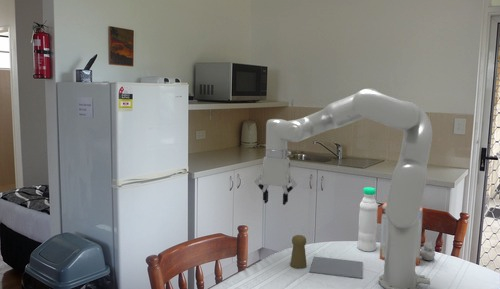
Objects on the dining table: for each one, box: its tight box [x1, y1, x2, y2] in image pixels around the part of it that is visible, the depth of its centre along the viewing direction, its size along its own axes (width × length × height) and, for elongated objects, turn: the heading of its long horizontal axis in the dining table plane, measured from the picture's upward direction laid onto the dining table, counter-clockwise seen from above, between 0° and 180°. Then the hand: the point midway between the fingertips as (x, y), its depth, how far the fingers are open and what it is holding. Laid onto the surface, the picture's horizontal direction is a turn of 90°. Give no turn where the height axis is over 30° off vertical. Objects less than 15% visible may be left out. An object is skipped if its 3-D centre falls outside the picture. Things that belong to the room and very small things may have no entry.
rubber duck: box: [420, 240, 436, 261], centre depth 161 cm, size 5×7×8 cm
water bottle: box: [357, 186, 379, 252], centre depth 169 cm, size 7×7×25 cm
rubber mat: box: [308, 255, 364, 280], centre depth 153 cm, size 18×14×1 cm
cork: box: [289, 234, 307, 270], centre depth 153 cm, size 6×6×11 cm
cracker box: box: [379, 202, 424, 266], centre depth 159 cm, size 14×6×21 cm, turn 64°
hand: (275, 202), depth 153 cm, fingers open, 6 cm apart
